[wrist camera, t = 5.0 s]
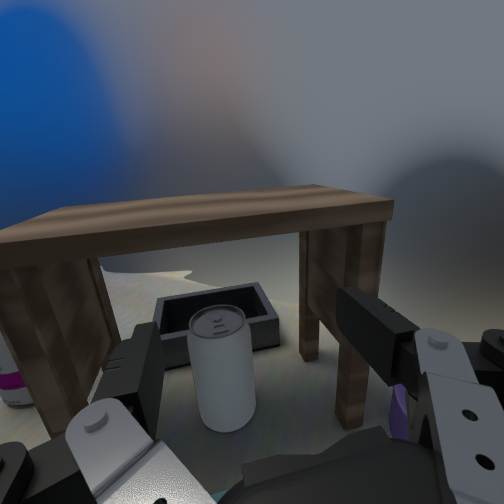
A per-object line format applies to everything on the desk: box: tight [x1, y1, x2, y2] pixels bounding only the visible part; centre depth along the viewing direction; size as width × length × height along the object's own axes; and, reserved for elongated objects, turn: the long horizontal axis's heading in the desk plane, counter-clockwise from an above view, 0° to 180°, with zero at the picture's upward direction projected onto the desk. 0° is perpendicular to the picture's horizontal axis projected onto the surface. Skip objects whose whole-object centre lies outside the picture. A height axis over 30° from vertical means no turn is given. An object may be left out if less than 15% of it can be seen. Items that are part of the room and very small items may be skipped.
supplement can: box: [0, 332, 34, 405], centre depth 33 cm, size 8×8×15 cm
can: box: [187, 305, 256, 432], centre depth 28 cm, size 6×6×12 cm
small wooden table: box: [0, 184, 394, 440], centre depth 26 cm, size 13×26×24 cm, turn 103°
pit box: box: [152, 282, 280, 370], centre depth 42 cm, size 12×18×5 cm, turn 103°
